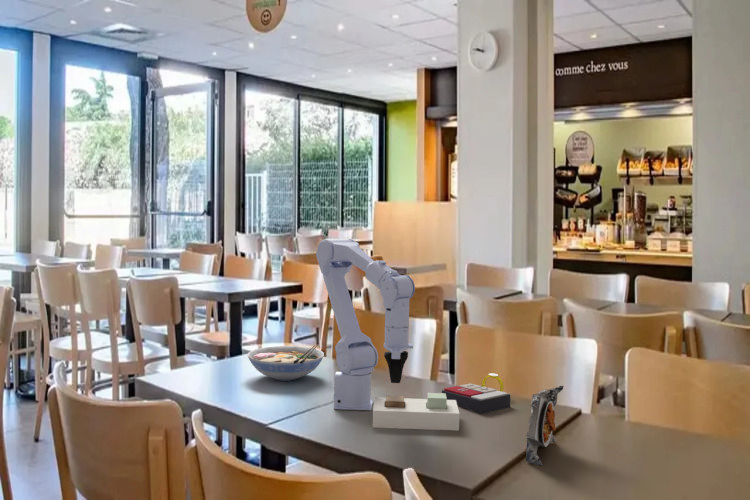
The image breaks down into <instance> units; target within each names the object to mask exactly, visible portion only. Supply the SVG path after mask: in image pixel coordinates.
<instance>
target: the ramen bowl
mask: <svg viewBox="0 0 750 500" xmlns="http://www.w3.org/2000/svg"><path fill="white" fill-rule="evenodd" d="M324 353H325V352H323V351H322V350H321V349H318V348H317V346H315V345H314V346H312V347H309V346H297V345H280V346H279V345H278V346H266V347H261V348H256V349H253V350H251V351H248V353H247V358H248V360H249V361H250V363H251V364H252V366H253V367H254V368H255V369H256V370H257V371H258V372H259V373H261V374H262V375H263V376H266V377H269V378H272V379H274V380H275V381H279V382H280V381H282V382H288V381H289V382H291V381H296V380H298V379H299V378H302V377H304V376H306V375H308V374H311V373H312V372H314V371H315V370H316V369H317V368H318V367H319V365H320V363H322V360H323V359H324V355H325V354H324Z"/></svg>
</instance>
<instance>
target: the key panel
mask: <svg viewBox="0 0 750 500" xmlns="http://www.w3.org/2000/svg"><path fill="white" fill-rule="evenodd" d="M373 403H374V404H373V407H372V428H373V429H374V428H375V429H376V428H378V429H402V430H403V429H405V430H408V429H409V430H431V431H432V430H433V431H460V411H459V406H457V402H456V400H447V407H446V409H427V398H409V397H408V398H407V397H406V398H405V397H404V408H393V407H386V397H378V396H377V397H374V401H373Z"/></svg>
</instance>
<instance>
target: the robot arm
mask: <svg viewBox="0 0 750 500" xmlns="http://www.w3.org/2000/svg"><path fill="white" fill-rule="evenodd" d="M315 256H316V259H317V262H318V263H317V264H318V265H319V269H320V272H321V274H322V278H323V281H324V285H325V289H326V291H327V295H328V298H329V301H330V302H329V303H330V305H331V308H332V311H333V315H334V317H335V322H336V325H337V327H338V328H337V329H338V332H339V336H340V339H339V340H338V341H337V343H336V345H335V347H334V348H335V355H336V358H335V359H336V365H337V368H338V369H339V371H335V375H334V388H333V389H334V392H333V402H334V403H333V409H334V410H344V411H345V410H347V411H348V410H351V411H353V410H354V411H372V410H373V403H374V401H373V400H372V399H371V398H372V397H371V396H372V395H371V394H372V392H371V391H372V389H371V388H372V372H374V369H375V367H377V365H378V363H379V352H378V349H377V348H376V347H375V345H374V344H373V341H372V338H370V337H369V336H367V335H366V334H365V333H364V332H362V330H361V328H360V325H359V320H358V318H357V317H358V316H357V315H356V311H355V307H354V305H353V301H352V298H351V295H350V292H349V288H348V285H347V282H346V279H345V277H346V274H348V273H349V272H351V269H352V268H353V265H354V266H355V267H358V269H360V270H361V271H363V272H364V273H365V278H366V279H367V281H369V282H370V283H371V284H373V285H374V286H375V287H376V288H378V289H379V290H380V295H381V297H382V300H383V302H382V305H383V307H384V308H385V310H384V315H385V316H384V317H385V318H384V343H383V348H384V350H387V351H384V354H383V356H384V359H385V362H386V363H387V367H388V373H389V378H390V382H391V384H401V381H402V376H403V370H404V366H405V363H406V362H407V359H408V358H409V352H408V351H406V350H409V349H414V344H413V343H409V332H410V330H409V329H410V328H409V326H410V299H412V298H413V297H414V295H415V291H416V285H415V282H414V280H413V278H412V277H411V276H410V275H408V274H404V275H401V274H399V272H398V271H397V270H396V269H393V268H391V267H390V266H389V265H388V264H387V262H386V261H385V260H384V259H383V260H380V259H379V260H374V259H373V258H372V257H371V256H369V255H368V254H367V253H366V252H365V251H363V249H362V248H361V247H360V244H359V242H358V241H356V240H354V239H353V238H349V239H348V238H347V239H327V238H326V239H322V240H320V242H318V246H317V249H316V253H315Z"/></svg>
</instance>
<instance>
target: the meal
mask: <svg viewBox="0 0 750 500" xmlns="http://www.w3.org/2000/svg"><path fill="white" fill-rule="evenodd" d="M564 387H565V386H564V385H559V386H557V387H552V388H549V389H546V388H543V389H542V390H540V391H538V392H537V393H535V394H532V395H531V401H530V408H531V409H530V412H531V415H530V416H529V419H528V423H527V424H528V431H527V432H526V435H525V436H526V449H525V461H526V462H527V463H529V464H531V465H537V466H538V465H540V466H544V464H543V462H542V461H541V460H540V456H539V455H538V448H539V447H542V448H547V446H548V445H549V444H552V443H553V444H555V443H556V438H555V435H553V432H554V431H556V429H557V428H556V423H555V420H556V419H555V416H556V412H555V410H554V409H555V406H556V404H557V403H558V395H559V393H561V391H563V390H564Z"/></svg>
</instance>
